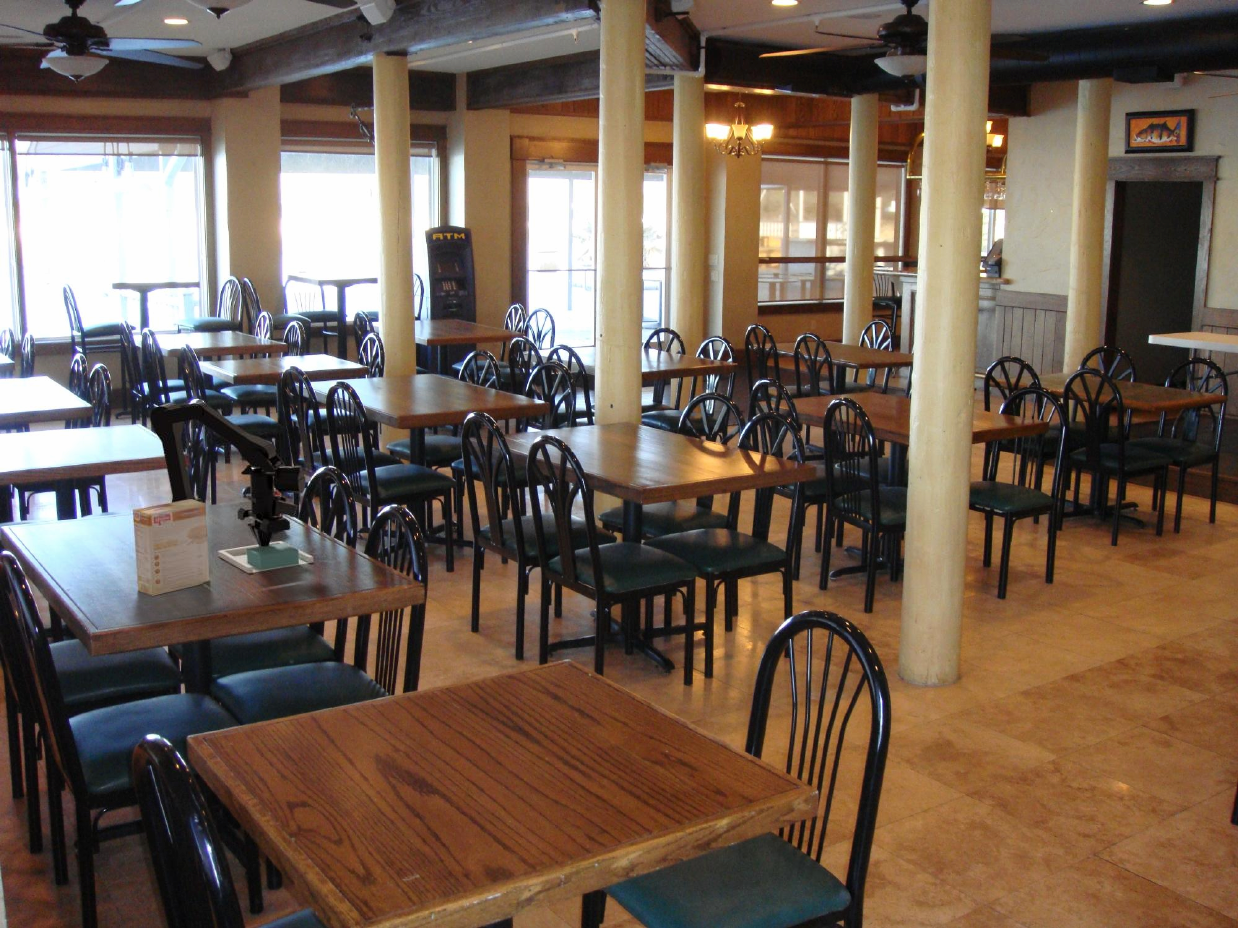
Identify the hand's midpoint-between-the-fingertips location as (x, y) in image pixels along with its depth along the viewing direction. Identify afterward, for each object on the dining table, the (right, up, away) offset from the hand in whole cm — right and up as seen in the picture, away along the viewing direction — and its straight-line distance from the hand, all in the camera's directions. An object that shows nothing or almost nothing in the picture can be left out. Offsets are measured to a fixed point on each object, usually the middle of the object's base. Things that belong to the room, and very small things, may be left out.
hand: (264, 551), depth 307 cm
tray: (0, -2, 0) cm, 2 cm away
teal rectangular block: (+3, -3, -4) cm, 6 cm away
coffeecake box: (-15, -7, -22) cm, 28 cm away
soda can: (-7, +4, +31) cm, 32 cm away
